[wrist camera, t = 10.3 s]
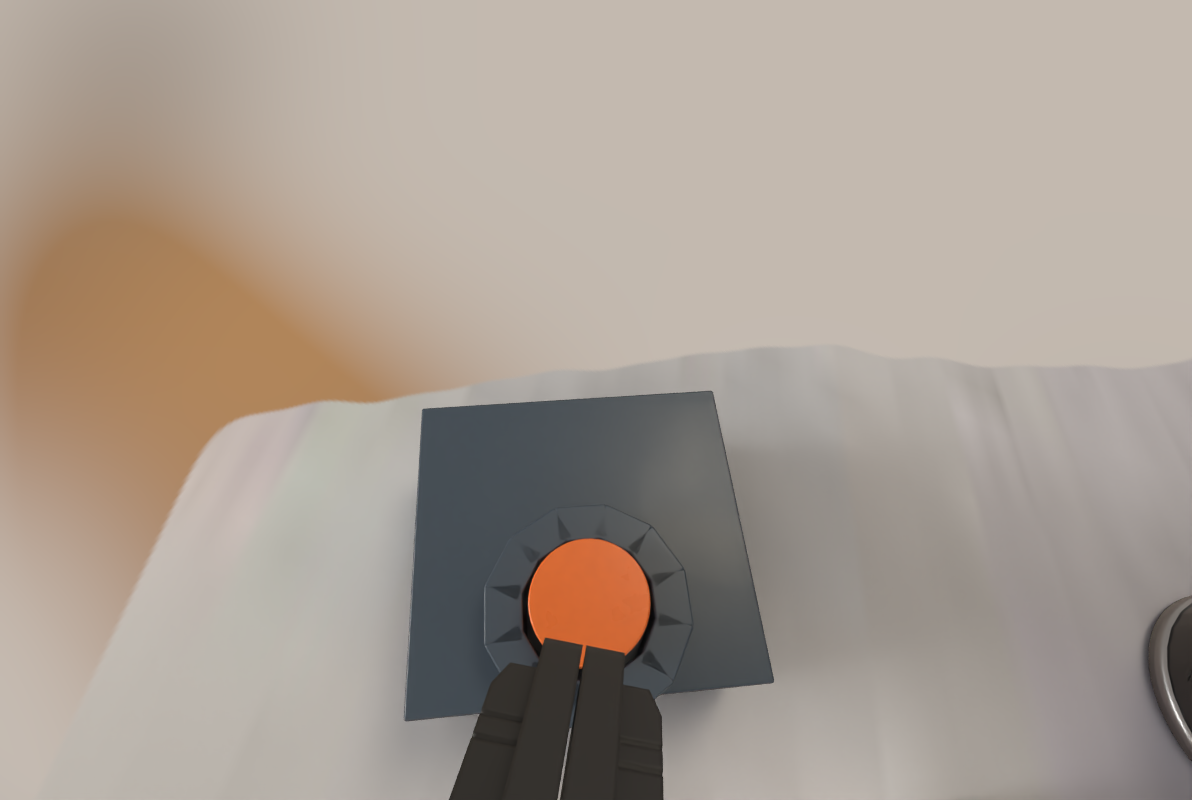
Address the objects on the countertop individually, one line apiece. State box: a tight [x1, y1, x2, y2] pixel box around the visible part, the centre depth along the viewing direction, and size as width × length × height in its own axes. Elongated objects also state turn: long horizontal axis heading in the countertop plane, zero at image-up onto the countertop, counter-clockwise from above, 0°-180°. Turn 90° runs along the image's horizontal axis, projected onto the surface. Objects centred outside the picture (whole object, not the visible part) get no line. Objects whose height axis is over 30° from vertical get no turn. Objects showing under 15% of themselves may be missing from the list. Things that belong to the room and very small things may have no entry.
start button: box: [528, 538, 651, 669], centre depth 17 cm, size 4×4×2 cm
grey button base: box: [404, 391, 774, 728], centre depth 22 cm, size 12×12×8 cm
